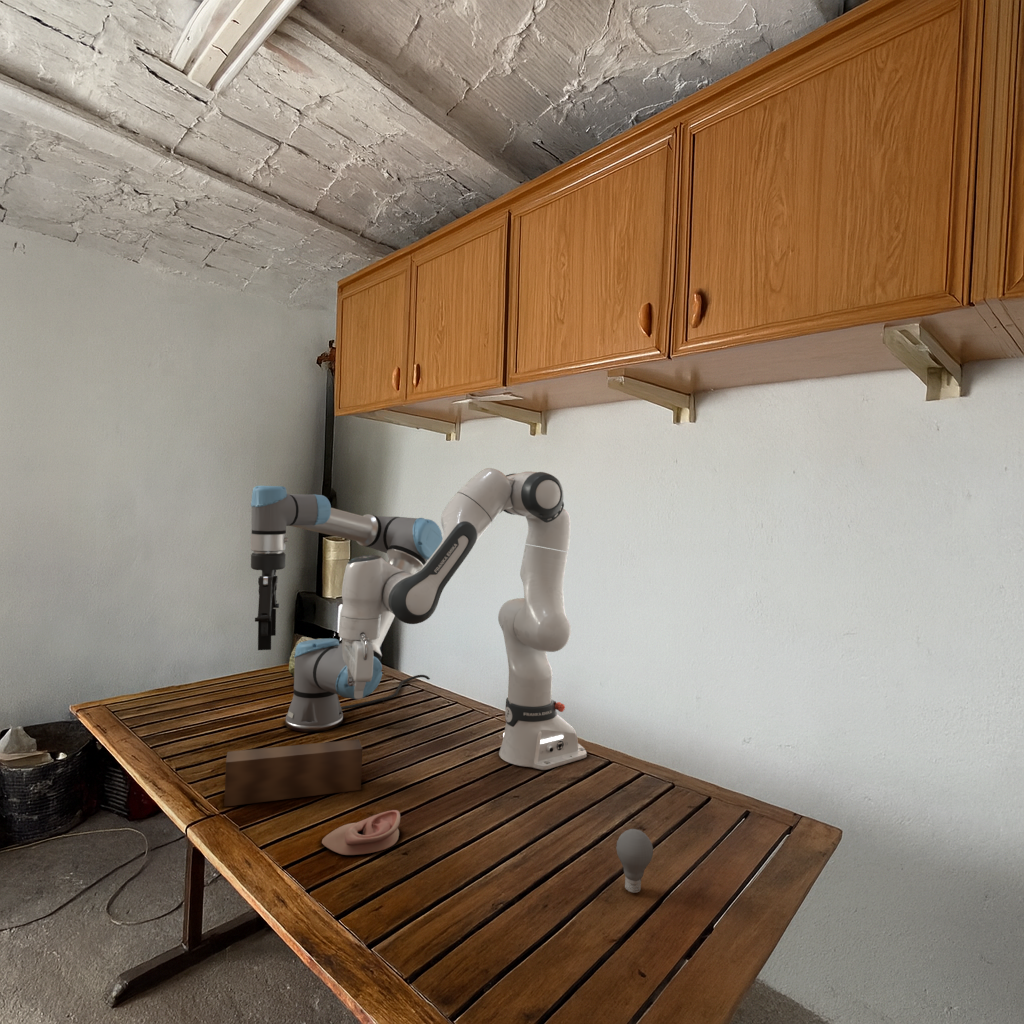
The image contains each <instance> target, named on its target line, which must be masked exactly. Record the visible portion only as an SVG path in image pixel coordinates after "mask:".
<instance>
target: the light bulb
mask: <svg viewBox="0 0 1024 1024" xmlns="http://www.w3.org/2000/svg"><path fill="white" fill-rule="evenodd" d="M615 849H616V854H617V857H618V859H619V861H620V863H621V865H622V867H623V873H624V874H623V875H624V876H625V878H624V888H625V890H627V891H628V892H630V893H634V894H635V893H639V892H640V891H641V889H642V887H641V886H642V879H643V877H644V875H645V871H646V868H647V867H648V866H649V864H650V863H651V861H652V859H653V855H654V847H653V843H652V841H651V838H649V836H648V835H647V834H646V833H645V832H643V831H642V830H641V829H636V828H629V829H627V830H625V831H623V832H622V833H621V834H620V835H619V837H618V839H617V841H616V847H615Z"/></svg>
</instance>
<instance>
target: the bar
mask: <svg viewBox="0 0 1024 1024" xmlns="http://www.w3.org/2000/svg"><path fill="white" fill-rule="evenodd" d="M362 769H363V746H362V743H361V741H360V739H358V738H357V739H347V740H336V741H326V742H325V741H324V742H316V743H304V744H296V745H285V746H275V747H263V748H253V749H242V750H241V749H240V750H232V751H231V750H230V751H227V752H226V759H225V773H224V774H225V777H224V782H225V783H224V800H223V801H224V802H223V804H224V805H223V807H233V806H242V805H243V806H244V805H250V804H259V803H266V802H276V801H282V800H291V799H298V798H307V797H315V796H322V795H323V796H324V795H330V794H331V795H332V794H338V793H339V794H340V793H347V792H355V791H361V790H362V773H363V772H362Z"/></svg>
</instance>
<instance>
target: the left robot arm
mask: <svg viewBox="0 0 1024 1024" xmlns="http://www.w3.org/2000/svg"><path fill="white" fill-rule="evenodd" d="M251 493H252V494H251V503H250V507H251V529H250V530H251V533H250V550H251V551H252V553H251V554H250V568H251V569H252V570H255V571H261V575H259V576H258V579H257V582H258V608H257V609H258V610H257V611H258V612H257V617H254V622H257V651H270V650H272V637H273V636H276V635H277V634H276V633H277V609H280V603H278V600H277V590H278V581H279V578H278V576H279V575H277V571H280V570H283V569H285V568H286V553H285V552H284V551H285V550H286V543H288V542H289V537H286V536H287V535H286V534H287V527H293V528H298V529H301V530H307V531H310V532H315V533H319V534H324V535H329V536H333V537H337V538H342V539H347V540H352V541H354V542H355V541H356V543H357V544H358V545H359V546H362V547H365V548H370V549H372V550H375V551H378V552H381V553H385V554H386V555H387V557H388V560H387V562H388V563H389V564H391V565H393V566H395V567H397V568H399V569H401V570H403V571H406V572H409V573H411V574H414V573H416V572H418V571H419V570H420V569H421V568H422V567H423V566H424V565H425V563H426V562H427V561H428V559H429V558H430V557H431V556H432V554H433V553H434V552H435V550H436V549H437V548H438V546H439V545H440V544H441V542H442V540H443V535H442V534H443V533H442V530H441V528H440V527H439V525H438V523H436V521H434V520H433V519H428V518H424V517H407V516H406V517H405V516H381V515H374V514H369V513H367V514H363V515H361V514H357V513H353V512H349V511H346V510H341V509H338V508H334V507H332V505H331V502H330V500H329V499H328V497H327V496H325V495H323V494H316V493H312V494H301V493H288V491H287V488H286V487H285V486H284V485H281V486H280V485H256V486H254V487H253V489H252V492H251ZM395 618H396V616H395V615H394V614H393V613H391V612H390V611H383V612H382V613H381V623H380V636H379V638H377V639H374V640H373V676H372V680H371V681H370V682H366V684H365V687H364V690H363V698H361V699H360V700H362V699H365V698H367V697H368V696H369V695H371V694H372V693H373V692H374V691H375V690H376V689H377V688H378V686H379V685H380V682H381V681H382V677H383V671H382V670H383V664H382V662H381V659H382V657H383V654H382V651H381V647H382V644H383V642H384V640H385V638H386V636H387V634H388V631H389V630H390V627H391V625H392V623H393V622H394V619H395ZM314 639H315V640H308V641H304V642H301V643H299V644H298V645H297V646H296V645H295V646H296V650H295V656H294V658H295V667H294V677H293V695H292V696H293V697H292V699H291V702H290V704H289V708H288V711H287V713H286V715H285V726H286V728H287V729H289V730H291V731H294V732H295V731H296V732H301V733H316V732H325V731H329V730H332V729H335V728H337V727H339V726H340V725H342V723H343V722H344V714H343V710H348V709H354V708H358V707H362V706H367V705H371V704H376V703H380V702H383V701H387V700H390V699H392V698H395V697H396V696H397V695H398V694H399V692H400V690H401V688H402V686H403V684H405V683H407V682H410V681H412V680H414V679H419V678H425V679H426V680H429V681H430V680H431V678H430V676H428V675H426V674H417V675H413V676H411V677H408V678H406V679H403V680H401V681H400V683H399V684H398V687H397V688H396V690H395V692H394V693H393V694H390V695H388V696H384V697H381V698H376V699H372V700H368V701H364V702H359V703H353V704H348V705H342V706H341V702H340V699H339V696H341V697H342V698H345V699H351V700H356V699H355V698H354V689H355V686H349V685H348V672H347V665H346V663H345V662H344V660H343V654H342V640H341V641H339V639H337V638H331V637H329V638H321V639H320V638H314Z"/></svg>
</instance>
